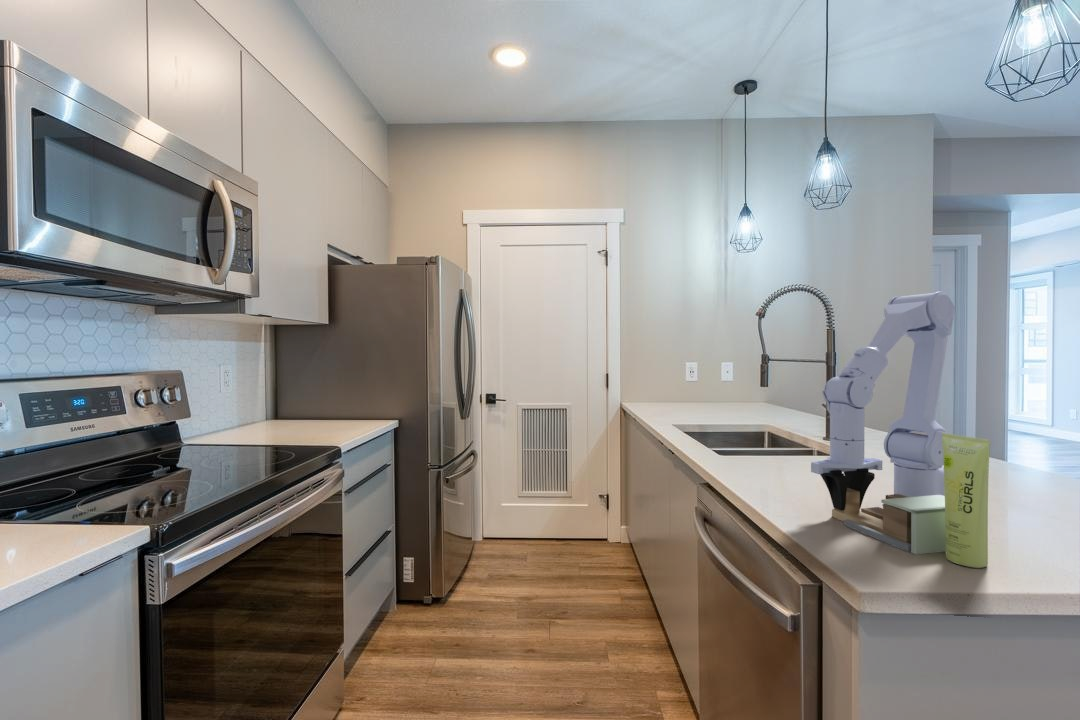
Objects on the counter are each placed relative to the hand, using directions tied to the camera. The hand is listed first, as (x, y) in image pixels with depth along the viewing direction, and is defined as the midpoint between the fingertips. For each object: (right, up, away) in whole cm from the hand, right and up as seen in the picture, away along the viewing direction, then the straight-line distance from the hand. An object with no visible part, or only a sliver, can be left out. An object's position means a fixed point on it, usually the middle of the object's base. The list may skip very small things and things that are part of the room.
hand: (846, 508), depth 98 cm
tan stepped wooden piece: (+1, -2, -6) cm, 7 cm away
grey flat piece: (+5, -2, -9) cm, 10 cm away
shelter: (+6, -2, -13) cm, 14 cm away
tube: (+6, -3, -20) cm, 21 cm away
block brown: (+6, -2, -2) cm, 7 cm away
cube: (+3, -1, -12) cm, 13 cm away
